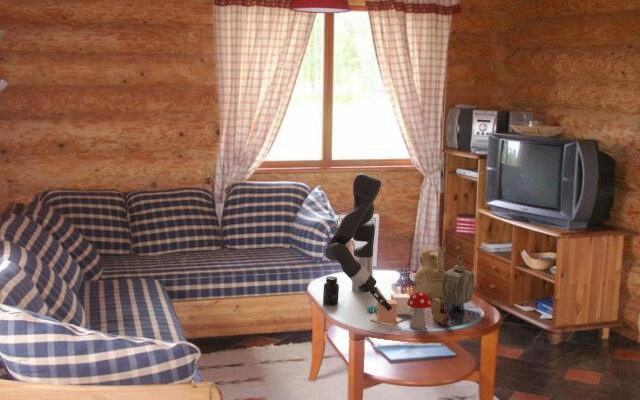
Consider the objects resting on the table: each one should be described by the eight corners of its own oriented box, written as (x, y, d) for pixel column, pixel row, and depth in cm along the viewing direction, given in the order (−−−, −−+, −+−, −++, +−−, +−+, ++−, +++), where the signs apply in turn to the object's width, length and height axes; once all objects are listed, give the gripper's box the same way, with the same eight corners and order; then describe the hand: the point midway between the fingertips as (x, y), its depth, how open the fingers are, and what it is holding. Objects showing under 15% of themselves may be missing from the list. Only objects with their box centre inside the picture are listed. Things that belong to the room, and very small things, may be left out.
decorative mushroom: (407, 330, 300) (409, 294, 297) (404, 323, 308) (406, 288, 306) (431, 330, 300) (434, 295, 298) (427, 324, 309) (430, 289, 306)
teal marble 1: (369, 310, 324) (369, 303, 324) (375, 311, 322) (375, 305, 322) (365, 311, 322) (366, 305, 321) (371, 313, 320) (372, 306, 319)
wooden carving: (452, 328, 305) (454, 304, 303) (442, 328, 304) (444, 305, 302) (435, 315, 320) (437, 293, 319) (425, 316, 319) (427, 293, 318)
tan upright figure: (436, 288, 363) (440, 238, 359) (456, 300, 344) (460, 248, 340) (405, 290, 357) (408, 239, 353) (423, 302, 339) (426, 249, 335)
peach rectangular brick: (378, 321, 308) (379, 303, 307) (376, 317, 313) (377, 299, 312) (396, 321, 309) (397, 303, 308) (393, 317, 314) (394, 299, 313)
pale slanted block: (392, 314, 320) (393, 297, 319) (390, 310, 325) (391, 293, 324) (409, 314, 321) (410, 297, 320) (406, 310, 326) (407, 293, 325)
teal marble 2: (376, 310, 324) (376, 303, 324) (382, 311, 323) (382, 305, 322) (373, 311, 322) (373, 305, 321) (379, 313, 320) (379, 306, 320)
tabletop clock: (454, 304, 338) (458, 250, 334) (473, 308, 333) (477, 254, 329) (440, 311, 327) (444, 256, 323) (459, 315, 321) (463, 259, 317)
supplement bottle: (336, 306, 327) (337, 280, 325) (321, 305, 329) (322, 278, 327) (339, 302, 334) (340, 276, 332) (324, 300, 335) (325, 275, 333)
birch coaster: (381, 315, 318) (382, 313, 318) (402, 320, 312) (402, 318, 312) (370, 320, 310) (370, 319, 309) (391, 326, 304) (391, 324, 304)
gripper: (353, 280, 314) (378, 307, 317) (358, 290, 300) (385, 317, 303) (366, 268, 314) (391, 295, 317) (372, 277, 300) (398, 305, 303)
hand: (388, 306), depth 310 cm, fingers open, 8 cm apart
